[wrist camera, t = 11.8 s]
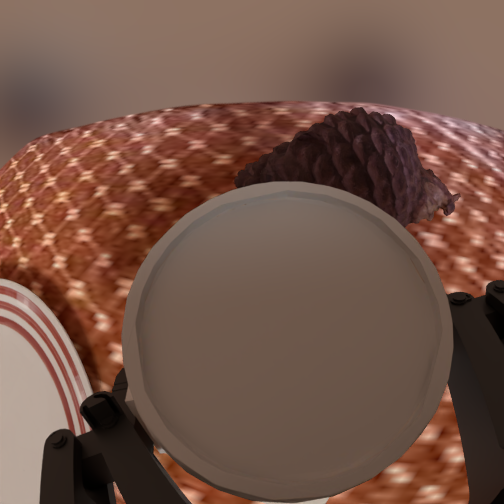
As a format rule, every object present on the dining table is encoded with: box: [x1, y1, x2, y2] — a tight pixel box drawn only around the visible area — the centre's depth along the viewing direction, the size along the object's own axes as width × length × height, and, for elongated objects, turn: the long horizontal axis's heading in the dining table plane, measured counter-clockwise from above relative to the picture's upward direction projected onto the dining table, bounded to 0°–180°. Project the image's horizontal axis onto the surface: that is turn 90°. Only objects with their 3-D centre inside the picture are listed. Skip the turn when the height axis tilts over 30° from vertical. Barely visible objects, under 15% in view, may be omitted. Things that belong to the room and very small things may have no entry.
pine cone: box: [234, 107, 461, 228], centre depth 22 cm, size 18×10×10 cm, turn 91°
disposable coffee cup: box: [122, 182, 453, 503], centre depth 12 cm, size 10×10×12 cm
